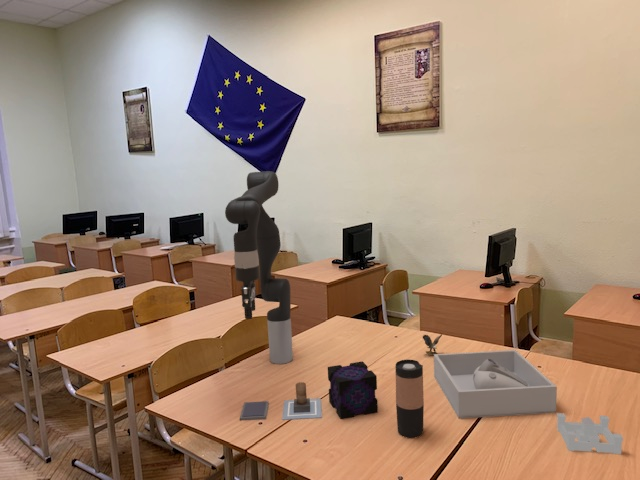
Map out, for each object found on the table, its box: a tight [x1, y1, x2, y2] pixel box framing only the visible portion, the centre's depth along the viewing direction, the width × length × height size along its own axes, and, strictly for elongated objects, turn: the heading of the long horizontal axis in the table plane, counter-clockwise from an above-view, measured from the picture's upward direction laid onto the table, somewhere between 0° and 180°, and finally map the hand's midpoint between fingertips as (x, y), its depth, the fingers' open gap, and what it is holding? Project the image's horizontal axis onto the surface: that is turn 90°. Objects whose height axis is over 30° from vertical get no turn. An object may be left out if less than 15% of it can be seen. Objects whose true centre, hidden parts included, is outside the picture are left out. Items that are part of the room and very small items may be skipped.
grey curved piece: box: [473, 358, 529, 389], centre depth 158 cm, size 16×17×11 cm
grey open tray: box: [433, 349, 558, 419], centre depth 158 cm, size 29×29×8 cm
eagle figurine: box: [422, 333, 443, 357], centre depth 193 cm, size 8×7×9 cm
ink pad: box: [239, 400, 270, 421], centre depth 154 cm, size 10×8×1 cm
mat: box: [281, 398, 323, 421], centre depth 154 cm, size 12×12×1 cm
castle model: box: [556, 412, 624, 455], centre depth 128 cm, size 15×15×7 cm
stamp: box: [293, 381, 311, 413], centre depth 154 cm, size 5×5×8 cm
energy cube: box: [327, 361, 379, 420], centre depth 154 cm, size 12×12×12 cm
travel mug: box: [394, 359, 425, 439], centre depth 137 cm, size 8×8×20 cm
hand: (250, 314), depth 156 cm, fingers open, 8 cm apart
